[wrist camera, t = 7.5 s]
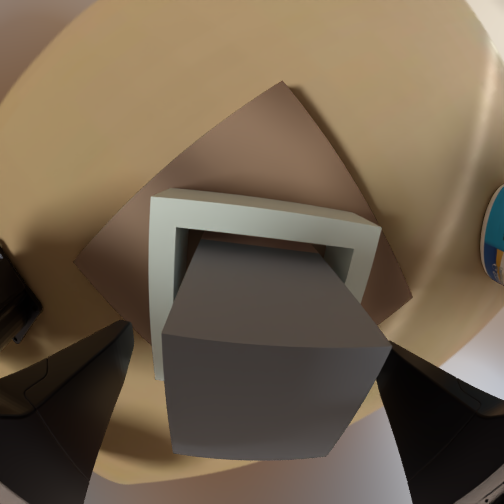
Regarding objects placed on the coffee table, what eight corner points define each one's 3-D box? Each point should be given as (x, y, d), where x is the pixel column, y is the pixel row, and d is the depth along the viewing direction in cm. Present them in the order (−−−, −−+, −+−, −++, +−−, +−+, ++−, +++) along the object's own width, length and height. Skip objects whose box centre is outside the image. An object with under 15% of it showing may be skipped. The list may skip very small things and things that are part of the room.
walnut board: (232, 400, 18) (232, 410, 17) (81, 255, 14) (73, 261, 13) (404, 290, 15) (412, 297, 14) (279, 86, 11) (282, 80, 10)
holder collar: (313, 355, 15) (326, 390, 12) (166, 343, 14) (155, 379, 12) (352, 212, 13) (381, 227, 10) (170, 187, 12) (150, 196, 9)
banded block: (290, 330, 14) (326, 456, 7) (197, 321, 14) (173, 453, 6) (310, 243, 13) (392, 345, 5) (205, 229, 12) (161, 333, 5)
